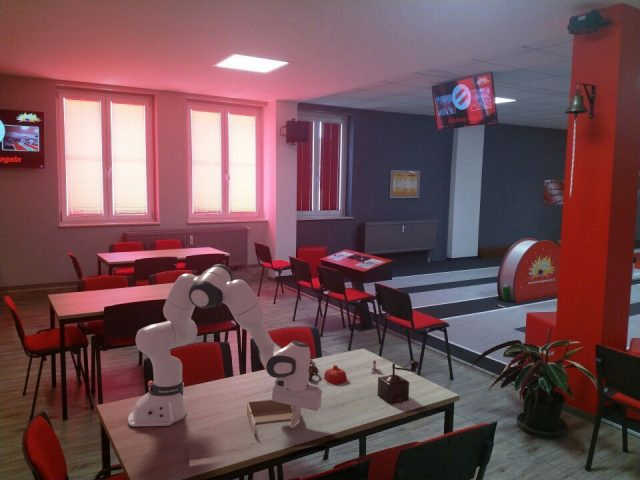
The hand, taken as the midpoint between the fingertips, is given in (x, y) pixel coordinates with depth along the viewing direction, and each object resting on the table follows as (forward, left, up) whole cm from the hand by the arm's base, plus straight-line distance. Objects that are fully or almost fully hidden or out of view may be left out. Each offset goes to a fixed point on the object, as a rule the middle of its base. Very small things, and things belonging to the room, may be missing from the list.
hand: (295, 416), depth 197 cm
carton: (-8, +7, -3) cm, 11 cm away
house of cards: (+52, +41, -3) cm, 66 cm away
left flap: (-17, +1, -3) cm, 18 cm away
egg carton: (+22, +57, -3) cm, 61 cm away
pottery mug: (+15, +42, -4) cm, 45 cm away
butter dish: (+28, +37, -3) cm, 47 cm away
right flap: (+2, +1, -3) cm, 4 cm away
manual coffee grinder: (+49, +11, -3) cm, 51 cm away
